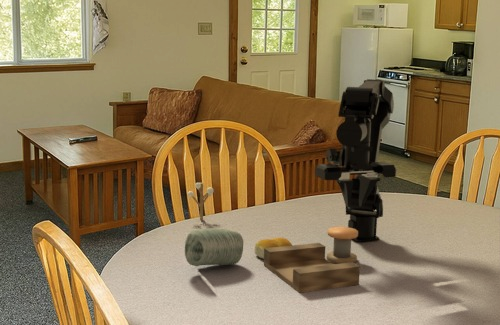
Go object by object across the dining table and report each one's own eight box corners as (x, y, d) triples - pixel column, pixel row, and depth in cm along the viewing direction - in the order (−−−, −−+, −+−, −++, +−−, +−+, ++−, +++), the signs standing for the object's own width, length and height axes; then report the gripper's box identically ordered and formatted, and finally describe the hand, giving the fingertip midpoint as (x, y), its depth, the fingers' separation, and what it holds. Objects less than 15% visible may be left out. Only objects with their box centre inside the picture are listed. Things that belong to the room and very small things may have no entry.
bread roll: (299, 255, 157) (299, 239, 157) (267, 262, 153) (267, 246, 152) (280, 245, 164) (280, 230, 164) (248, 252, 160) (248, 236, 159)
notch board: (318, 259, 157) (319, 242, 156) (358, 284, 140) (359, 266, 140) (263, 265, 152) (264, 248, 151) (299, 292, 135) (299, 273, 134)
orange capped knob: (346, 253, 161) (348, 225, 160) (362, 262, 155) (363, 233, 154) (321, 256, 159) (322, 228, 158) (335, 265, 152) (337, 236, 151)
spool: (188, 268, 141) (204, 223, 141) (171, 255, 149) (187, 213, 149) (241, 282, 148) (257, 240, 148) (222, 269, 156) (237, 229, 156)
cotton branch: (185, 222, 187) (185, 180, 185) (205, 219, 191) (205, 177, 189) (198, 228, 181) (198, 184, 179) (218, 225, 185) (219, 182, 183)
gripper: (374, 135, 166) (371, 197, 169) (306, 137, 160) (304, 201, 163) (399, 142, 156) (395, 207, 159) (327, 144, 150) (324, 212, 152)
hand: (354, 206), depth 158 cm, fingers open, 3 cm apart
